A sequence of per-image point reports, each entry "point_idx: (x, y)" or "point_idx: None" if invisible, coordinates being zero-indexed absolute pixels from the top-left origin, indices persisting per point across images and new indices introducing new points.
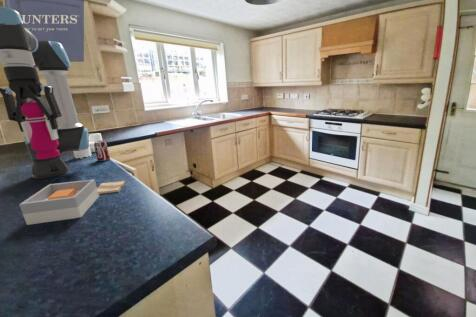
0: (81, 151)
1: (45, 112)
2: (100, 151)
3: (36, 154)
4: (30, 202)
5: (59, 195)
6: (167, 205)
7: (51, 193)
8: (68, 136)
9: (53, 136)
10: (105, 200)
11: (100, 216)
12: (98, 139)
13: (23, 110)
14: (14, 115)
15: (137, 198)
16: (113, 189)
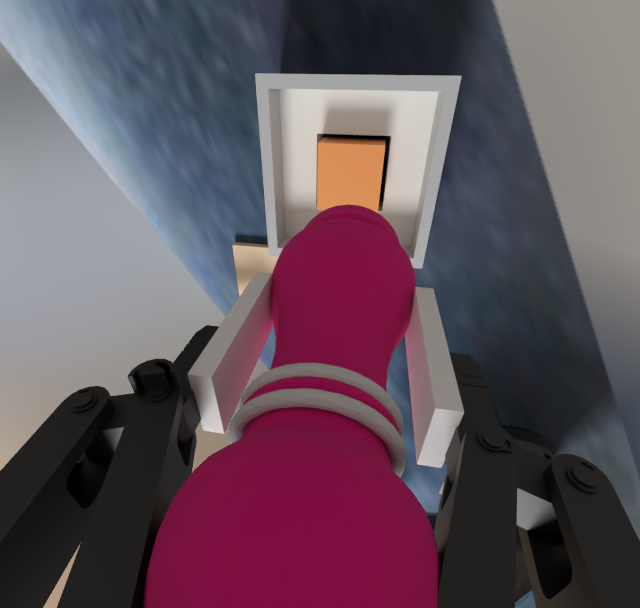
0: None
1: (142, 458)
2: None
3: (387, 229)
4: (421, 83)
5: (347, 155)
6: (30, 73)
7: (413, 237)
8: None
9: (248, 288)
10: (252, 189)
11: (216, 61)
12: None
13: (359, 519)
14: (562, 555)
15: (154, 167)
16: (249, 252)
